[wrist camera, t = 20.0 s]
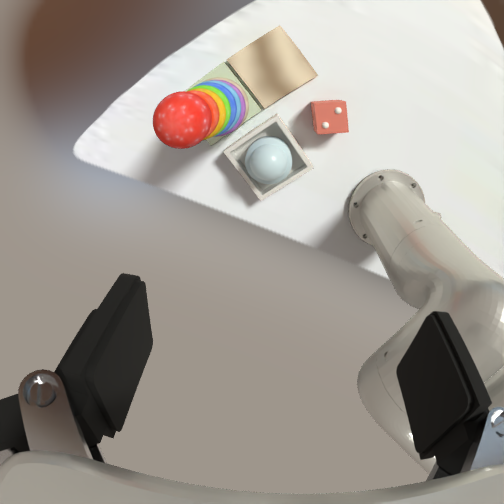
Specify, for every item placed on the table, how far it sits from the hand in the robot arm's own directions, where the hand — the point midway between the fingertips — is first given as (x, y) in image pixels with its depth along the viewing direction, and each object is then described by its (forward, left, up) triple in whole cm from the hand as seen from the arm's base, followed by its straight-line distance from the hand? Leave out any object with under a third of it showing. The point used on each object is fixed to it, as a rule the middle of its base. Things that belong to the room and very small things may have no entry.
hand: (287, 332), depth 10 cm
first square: (+2, -10, -36) cm, 38 cm away
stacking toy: (+8, -3, -36) cm, 37 cm away
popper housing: (+1, +3, -36) cm, 36 cm away
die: (-6, -4, -36) cm, 37 cm away
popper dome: (+1, +3, -35) cm, 35 cm away
